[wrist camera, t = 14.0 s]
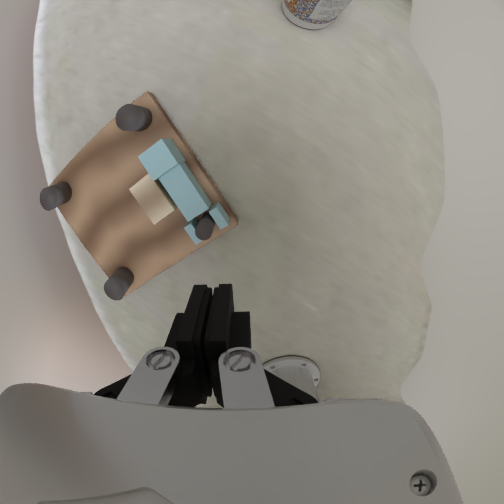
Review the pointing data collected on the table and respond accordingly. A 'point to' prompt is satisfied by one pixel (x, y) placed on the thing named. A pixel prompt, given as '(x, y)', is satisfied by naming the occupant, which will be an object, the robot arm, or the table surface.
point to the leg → (181, 185)
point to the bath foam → (313, 12)
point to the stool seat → (130, 200)
